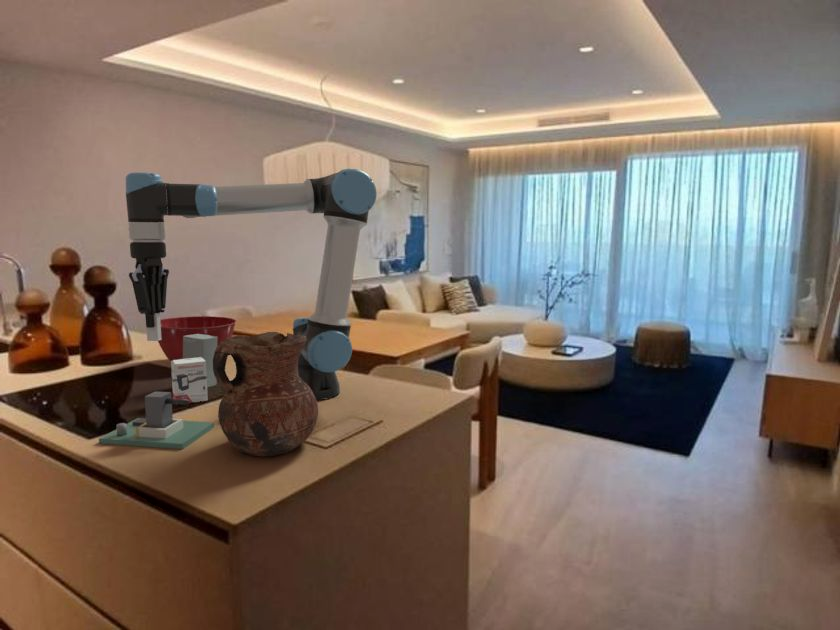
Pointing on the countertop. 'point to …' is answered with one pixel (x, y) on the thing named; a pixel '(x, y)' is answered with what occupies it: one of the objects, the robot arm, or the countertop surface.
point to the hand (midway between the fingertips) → (154, 340)
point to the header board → (157, 434)
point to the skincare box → (201, 352)
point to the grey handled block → (160, 409)
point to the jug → (264, 394)
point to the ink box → (189, 379)
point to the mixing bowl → (191, 332)
